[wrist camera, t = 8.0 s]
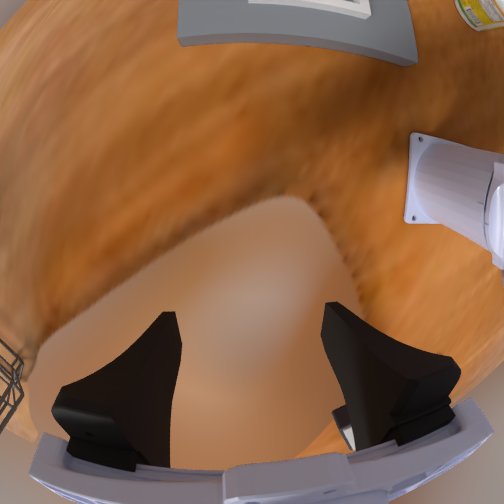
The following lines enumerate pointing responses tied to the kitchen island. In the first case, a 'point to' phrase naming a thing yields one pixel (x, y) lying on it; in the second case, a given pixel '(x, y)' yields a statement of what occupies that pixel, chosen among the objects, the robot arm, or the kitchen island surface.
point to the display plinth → (304, 25)
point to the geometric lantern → (11, 385)
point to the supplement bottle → (482, 13)
